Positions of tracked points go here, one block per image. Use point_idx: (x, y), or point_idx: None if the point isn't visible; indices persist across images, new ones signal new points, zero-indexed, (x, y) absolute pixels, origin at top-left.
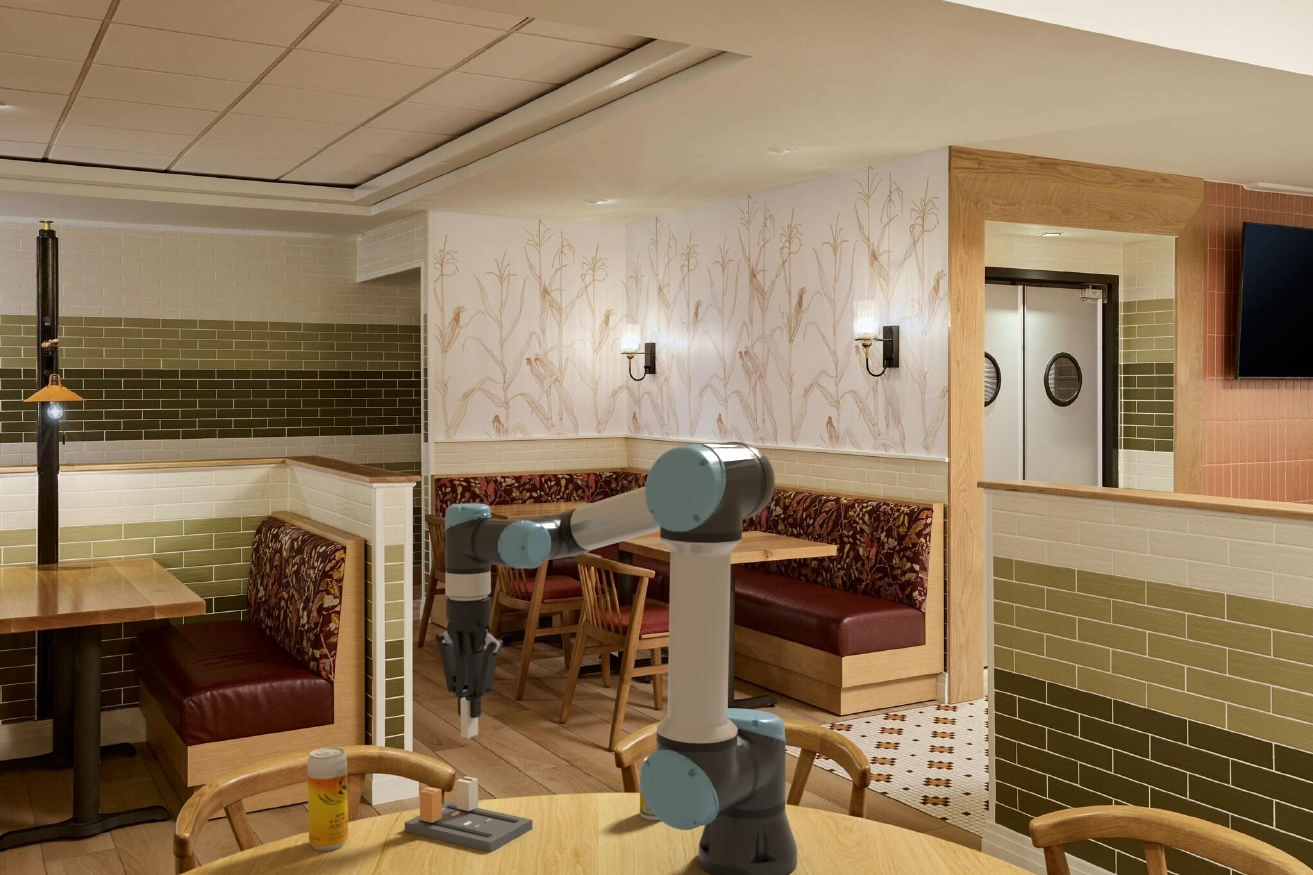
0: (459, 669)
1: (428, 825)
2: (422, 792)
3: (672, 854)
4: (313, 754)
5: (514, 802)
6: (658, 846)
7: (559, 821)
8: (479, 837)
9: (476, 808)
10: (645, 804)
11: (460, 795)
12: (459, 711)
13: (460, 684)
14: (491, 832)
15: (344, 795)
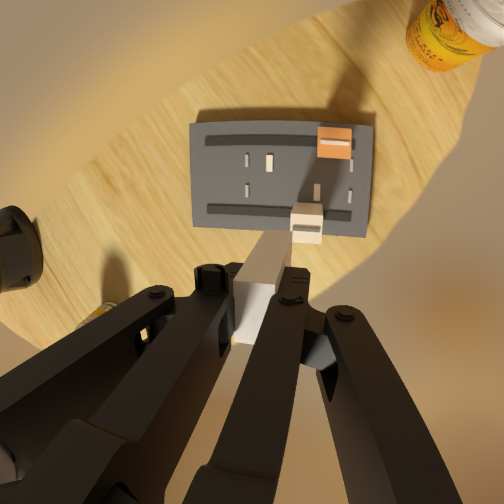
0: (255, 393)
1: None
2: (344, 128)
3: (51, 230)
4: None
5: None
6: (67, 241)
7: (184, 261)
8: (216, 129)
9: None
10: (104, 310)
11: (313, 208)
12: (301, 274)
13: (267, 327)
14: (213, 155)
15: (430, 21)
